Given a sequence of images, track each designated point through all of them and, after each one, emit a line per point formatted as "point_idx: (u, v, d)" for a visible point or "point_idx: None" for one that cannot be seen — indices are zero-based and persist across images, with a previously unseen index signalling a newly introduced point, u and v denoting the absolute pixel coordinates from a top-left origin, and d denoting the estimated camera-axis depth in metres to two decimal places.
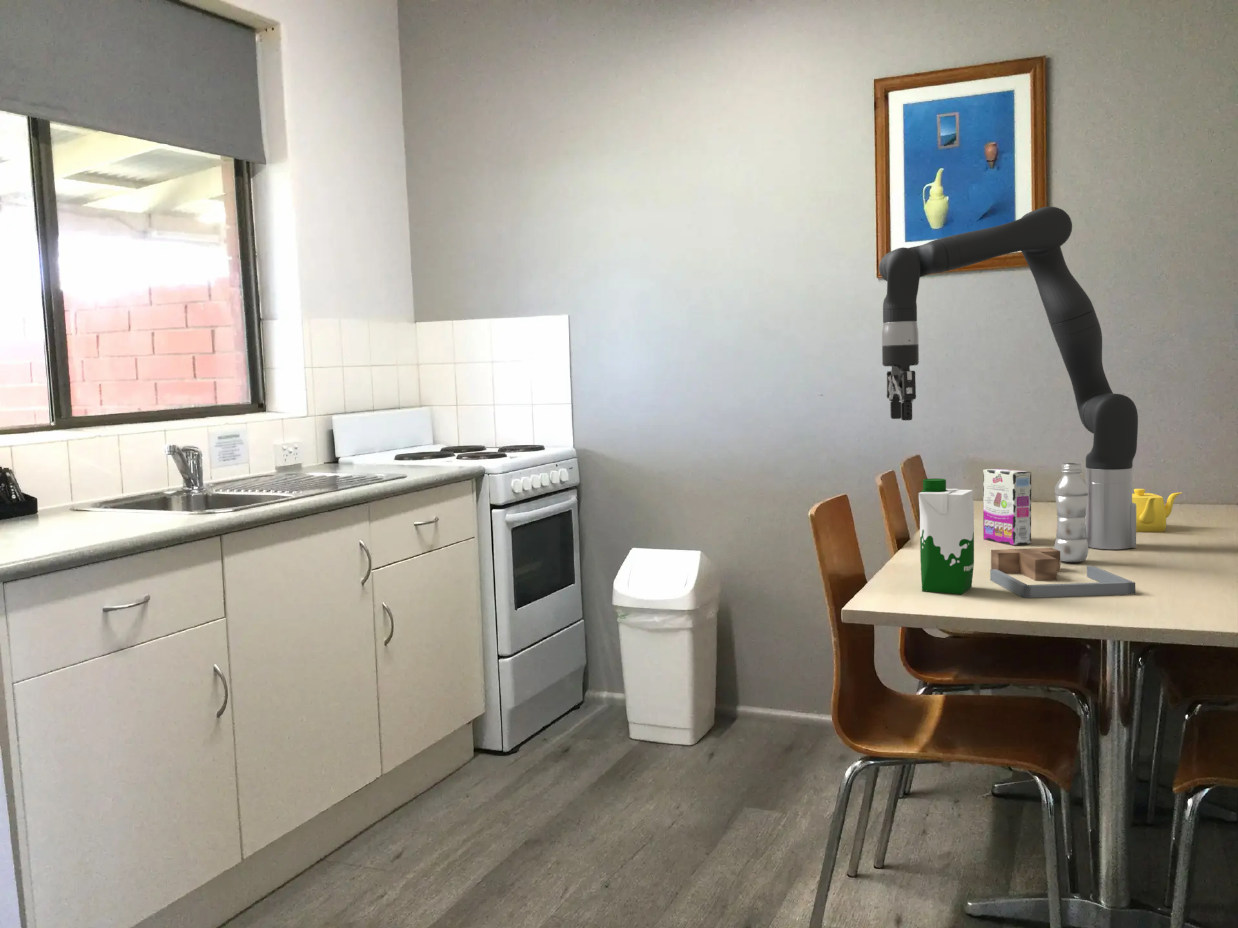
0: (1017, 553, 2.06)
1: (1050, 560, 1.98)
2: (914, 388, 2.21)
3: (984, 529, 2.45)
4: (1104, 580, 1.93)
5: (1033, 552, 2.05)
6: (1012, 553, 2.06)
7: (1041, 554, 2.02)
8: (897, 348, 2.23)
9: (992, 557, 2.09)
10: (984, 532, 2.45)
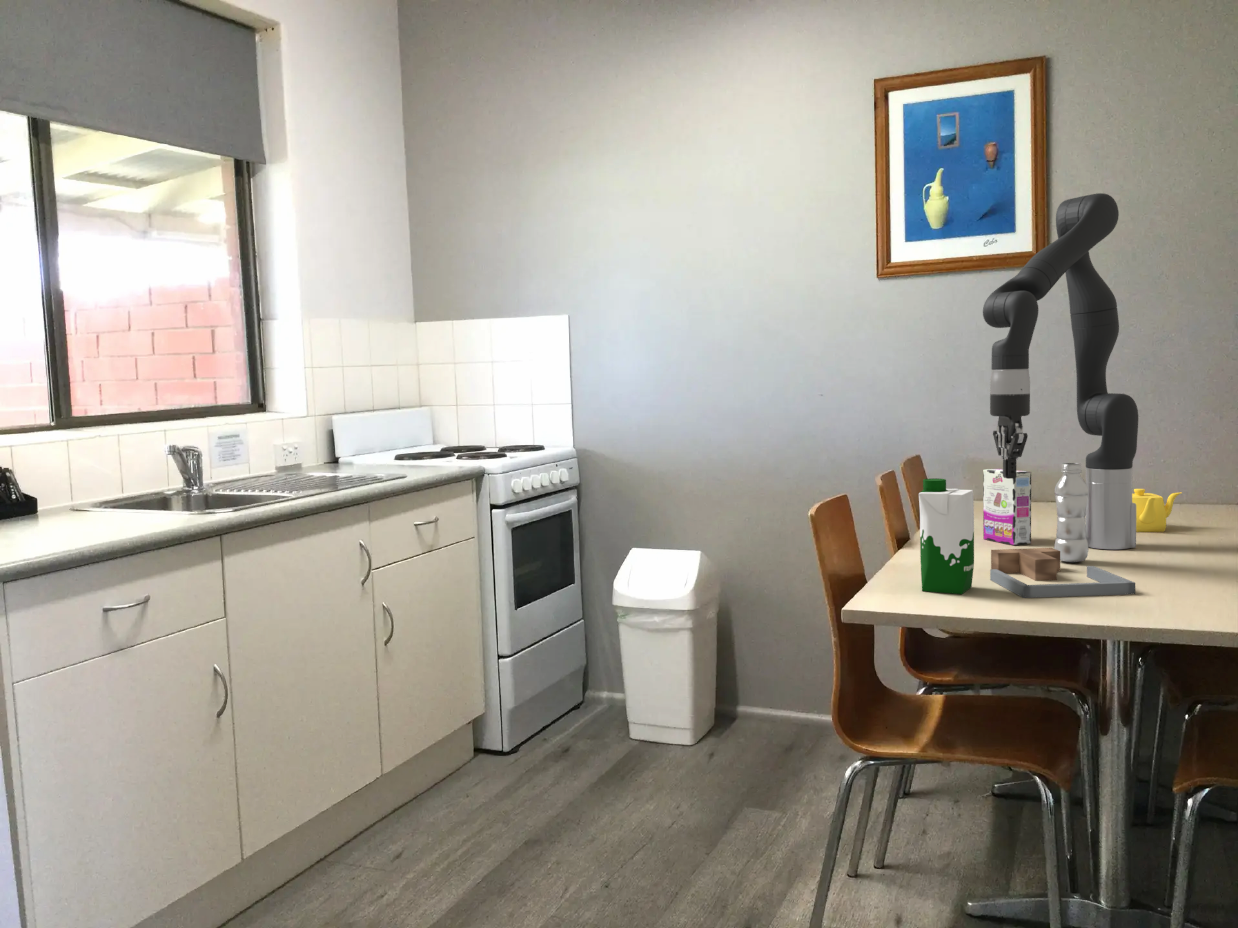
0: (1017, 553, 2.06)
1: (1050, 560, 1.98)
2: (1022, 449, 2.10)
3: (984, 529, 2.45)
4: (1104, 580, 1.93)
5: (1033, 552, 2.05)
6: (1012, 553, 2.06)
7: (1041, 554, 2.02)
8: (1008, 397, 2.10)
9: (992, 557, 2.09)
10: (984, 532, 2.45)
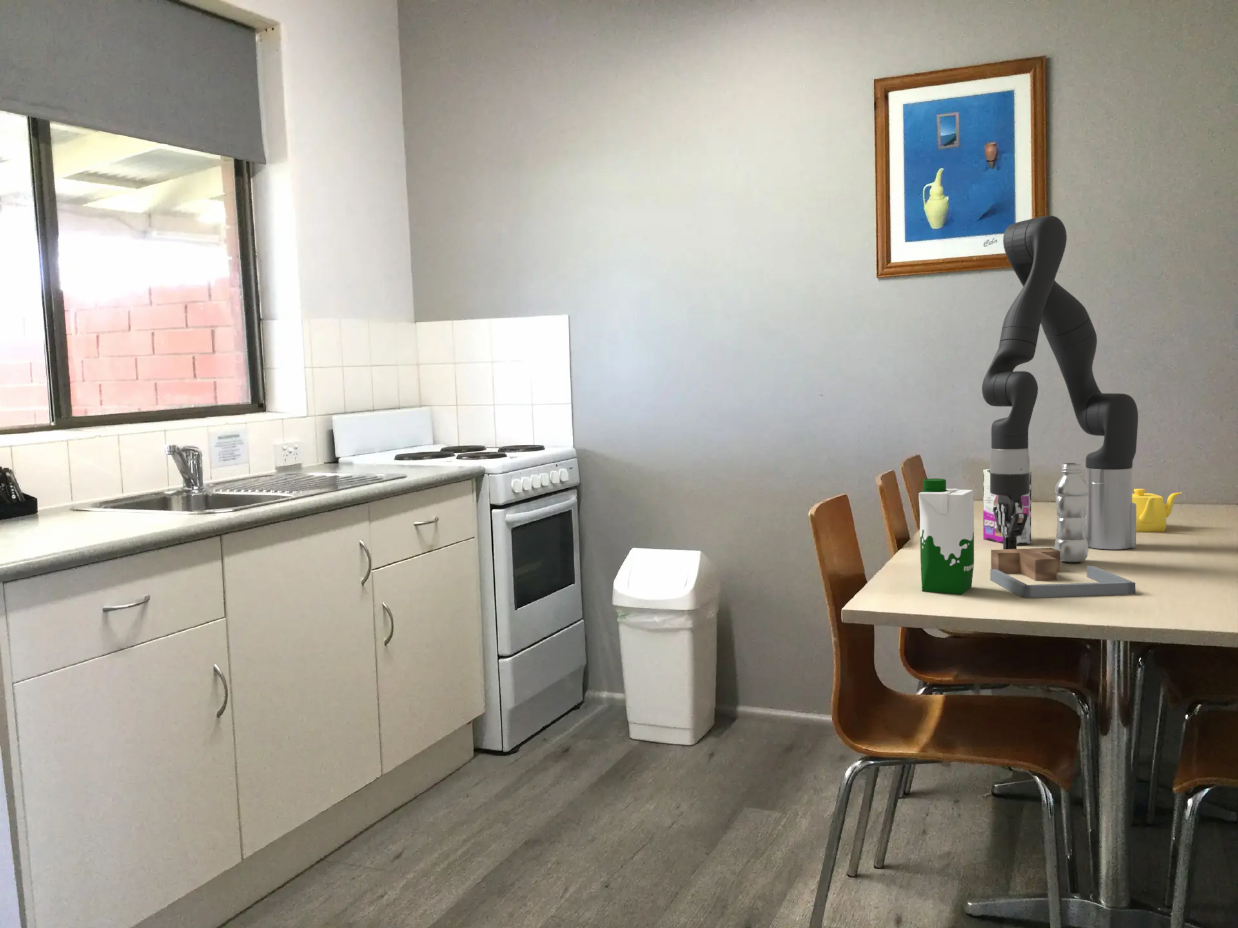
0: (1017, 553, 2.06)
1: (1050, 560, 1.98)
2: (1022, 529, 2.11)
3: (984, 529, 2.45)
4: (1104, 580, 1.93)
5: (1033, 552, 2.05)
6: (1012, 553, 2.06)
7: (1041, 554, 2.02)
8: (1008, 477, 2.11)
9: (992, 557, 2.09)
10: (984, 532, 2.45)
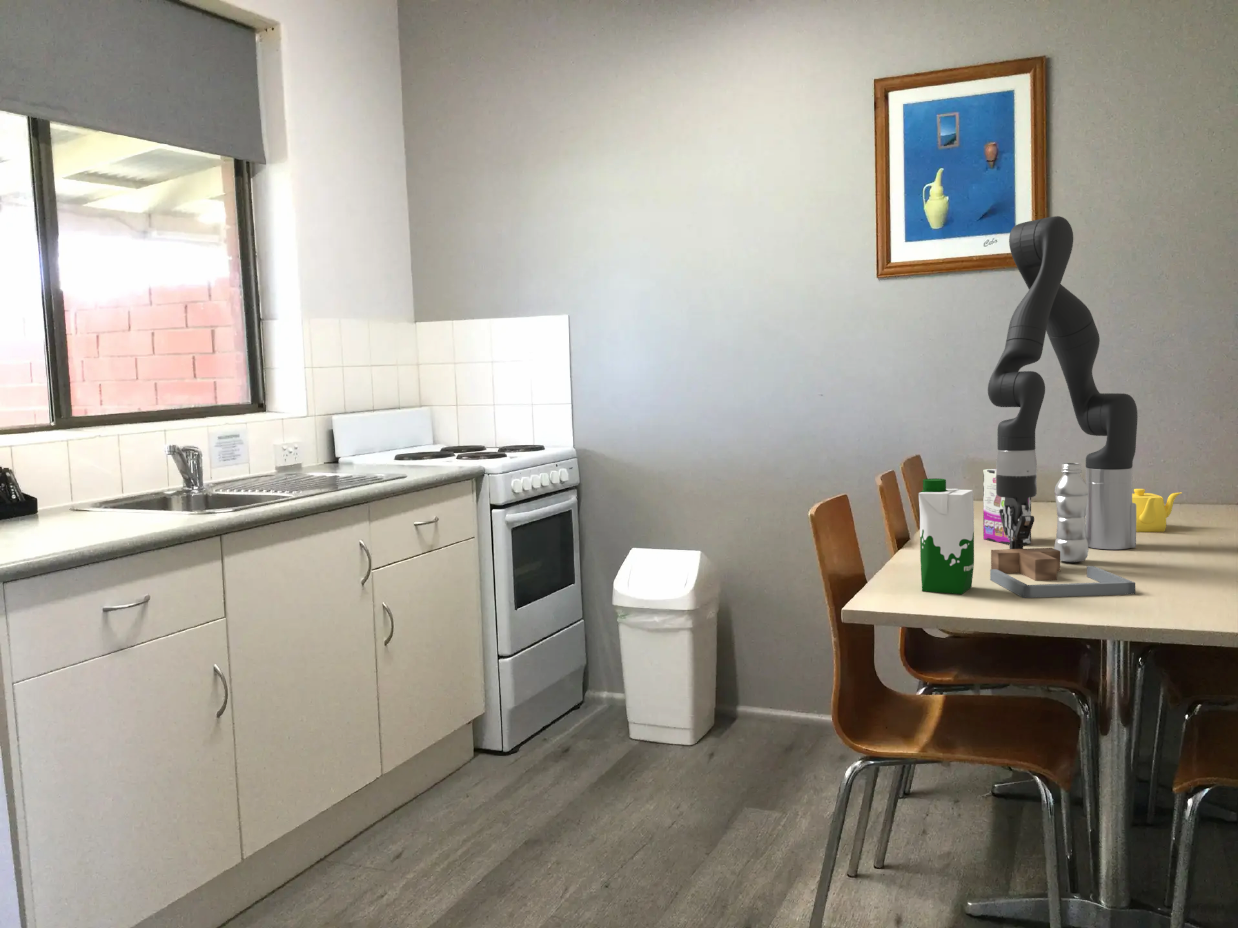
0: (1017, 553, 2.06)
1: (1050, 560, 1.98)
2: (1029, 532, 2.07)
3: (984, 529, 2.45)
4: (1104, 580, 1.93)
5: (1033, 552, 2.05)
6: (1012, 553, 2.06)
7: (1041, 554, 2.02)
8: (1015, 479, 2.07)
9: (992, 557, 2.09)
10: (984, 532, 2.45)
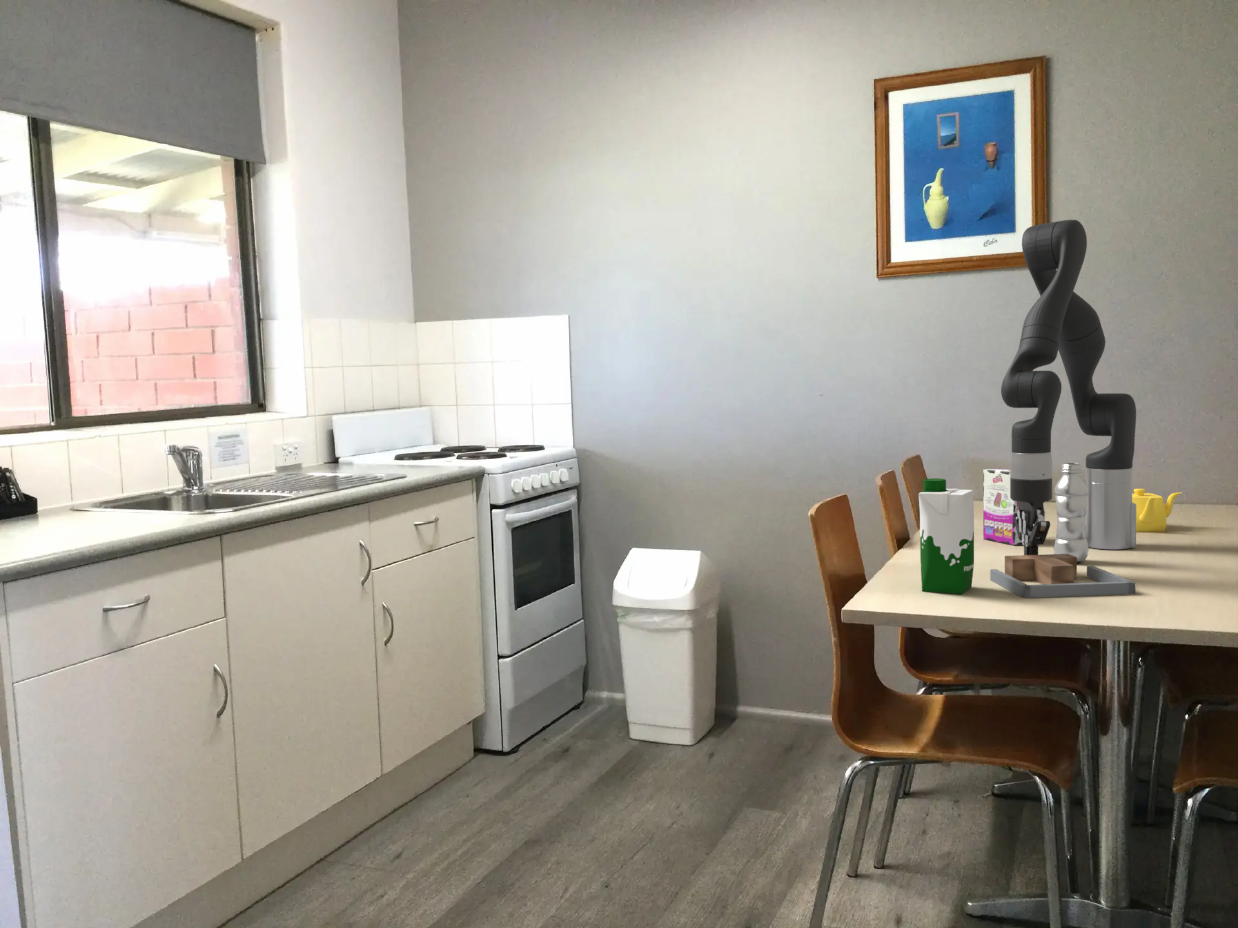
0: (1032, 559, 1.98)
1: (1067, 567, 1.90)
2: (1044, 537, 2.00)
3: (984, 529, 2.45)
4: (1104, 580, 1.93)
5: (1049, 558, 1.98)
6: (1027, 559, 1.98)
7: (1057, 560, 1.95)
8: (1030, 483, 1.99)
9: (1006, 563, 2.01)
10: (984, 532, 2.45)
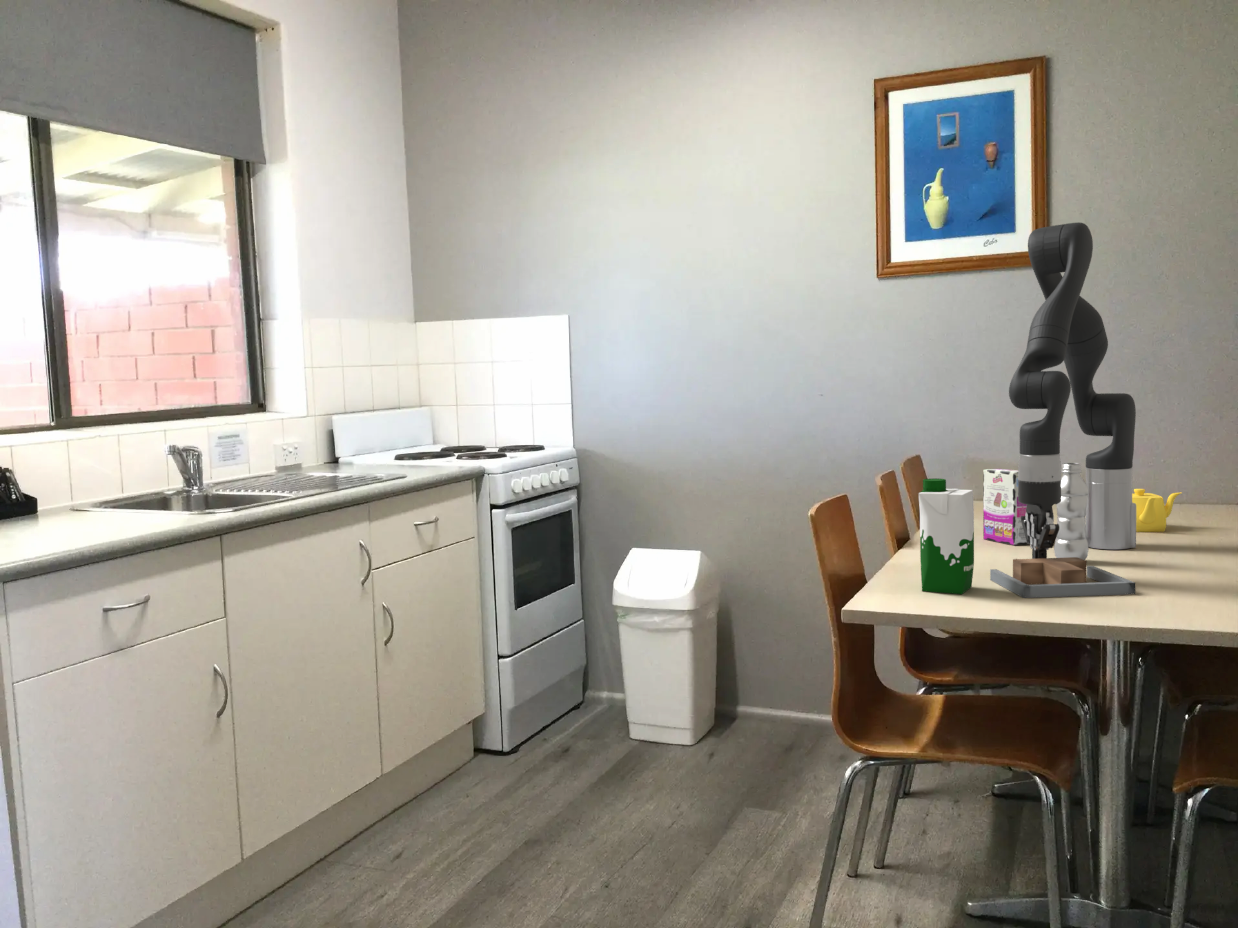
0: (1041, 563, 1.94)
1: (1077, 571, 1.86)
2: (1053, 541, 1.96)
3: (984, 529, 2.45)
4: (1104, 580, 1.93)
5: (1058, 562, 1.94)
6: (1035, 563, 1.94)
7: (1067, 564, 1.91)
8: (1038, 485, 1.96)
9: (1014, 567, 1.98)
10: (984, 532, 2.45)
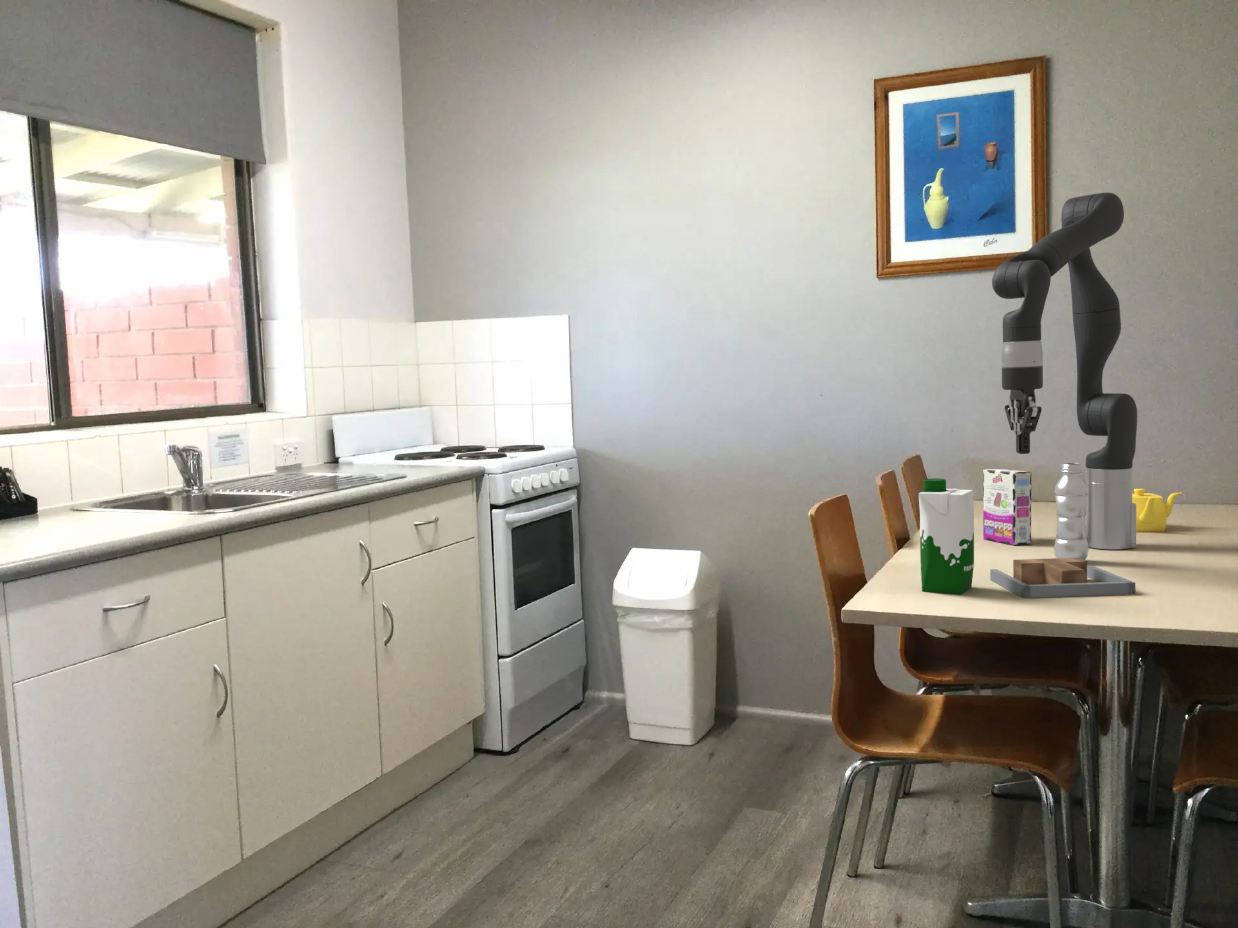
0: (1041, 563, 1.94)
1: (1077, 571, 1.86)
2: (1036, 423, 2.04)
3: (984, 529, 2.45)
4: (1104, 580, 1.93)
5: (1058, 562, 1.94)
6: (1036, 563, 1.94)
7: (1067, 565, 1.91)
8: (1021, 370, 2.04)
9: (1014, 567, 1.97)
10: (984, 532, 2.45)
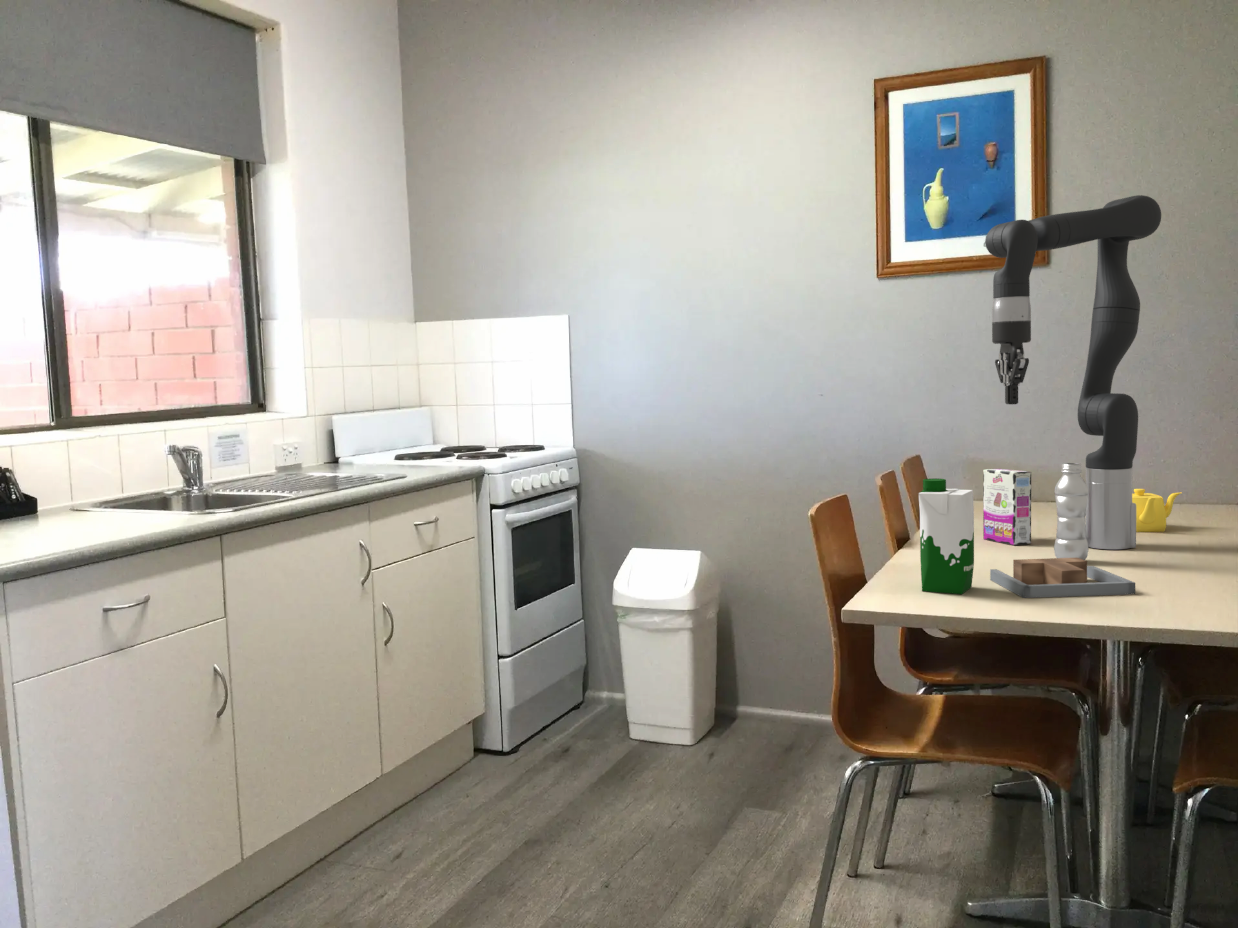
0: (1041, 563, 1.94)
1: (1077, 571, 1.86)
2: (1023, 375, 2.16)
3: (984, 529, 2.45)
4: (1104, 580, 1.93)
5: (1058, 562, 1.94)
6: (1036, 563, 1.94)
7: (1067, 565, 1.91)
8: (1010, 324, 2.15)
9: (1014, 567, 1.97)
10: (984, 532, 2.45)
